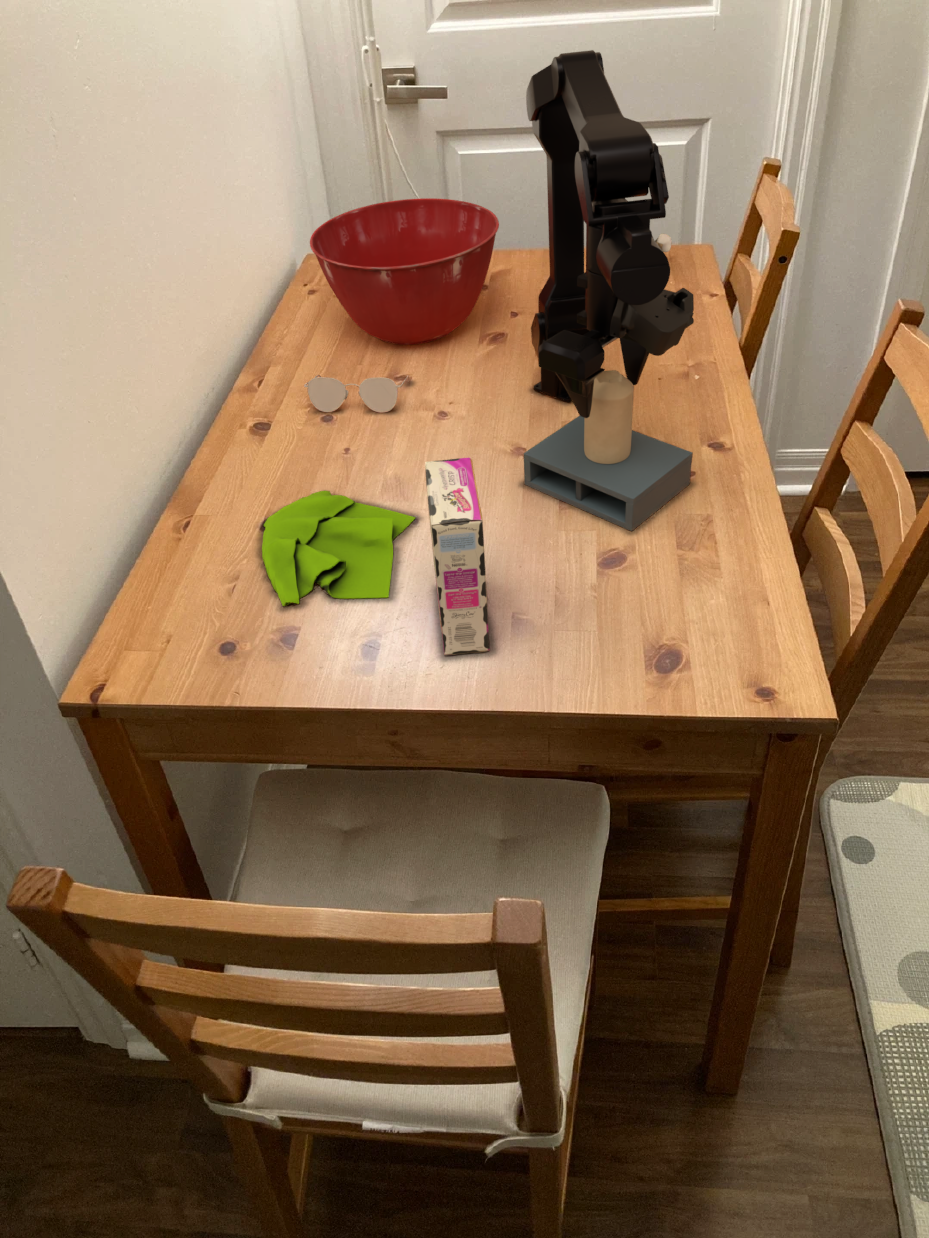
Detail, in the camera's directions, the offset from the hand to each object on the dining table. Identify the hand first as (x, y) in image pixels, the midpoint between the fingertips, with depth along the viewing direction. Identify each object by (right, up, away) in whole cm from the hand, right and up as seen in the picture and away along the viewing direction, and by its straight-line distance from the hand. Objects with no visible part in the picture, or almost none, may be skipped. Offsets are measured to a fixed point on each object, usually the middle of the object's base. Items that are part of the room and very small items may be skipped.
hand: (609, 400), depth 112 cm
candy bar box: (-17, -25, -9) cm, 31 cm away
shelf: (+1, -9, +8) cm, 12 cm away
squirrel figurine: (+14, +34, +55) cm, 66 cm away
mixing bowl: (-25, +22, +45) cm, 55 cm away
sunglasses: (-31, +7, +28) cm, 43 cm away
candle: (0, -5, +5) cm, 7 cm away
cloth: (-32, -17, +1) cm, 36 cm away
